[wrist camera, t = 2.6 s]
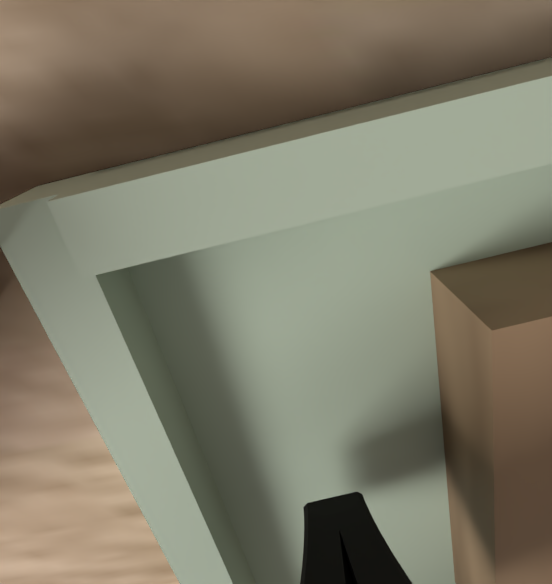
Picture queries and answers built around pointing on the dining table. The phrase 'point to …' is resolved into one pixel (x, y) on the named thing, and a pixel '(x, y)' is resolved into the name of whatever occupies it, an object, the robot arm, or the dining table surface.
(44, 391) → the dining table surface
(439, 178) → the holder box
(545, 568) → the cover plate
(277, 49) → the dining table surface
